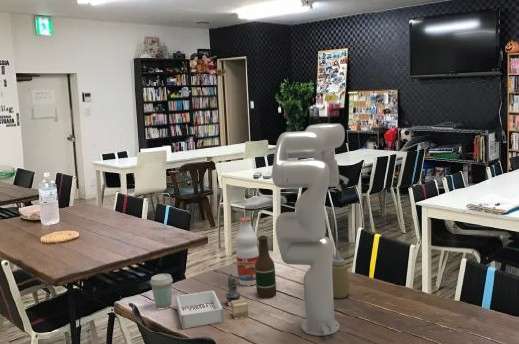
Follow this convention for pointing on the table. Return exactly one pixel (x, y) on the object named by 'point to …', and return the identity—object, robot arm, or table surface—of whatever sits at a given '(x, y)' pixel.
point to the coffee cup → (162, 290)
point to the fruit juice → (246, 252)
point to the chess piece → (232, 289)
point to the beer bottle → (265, 271)
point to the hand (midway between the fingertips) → (326, 201)
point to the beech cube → (239, 308)
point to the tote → (199, 315)
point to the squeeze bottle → (340, 277)
